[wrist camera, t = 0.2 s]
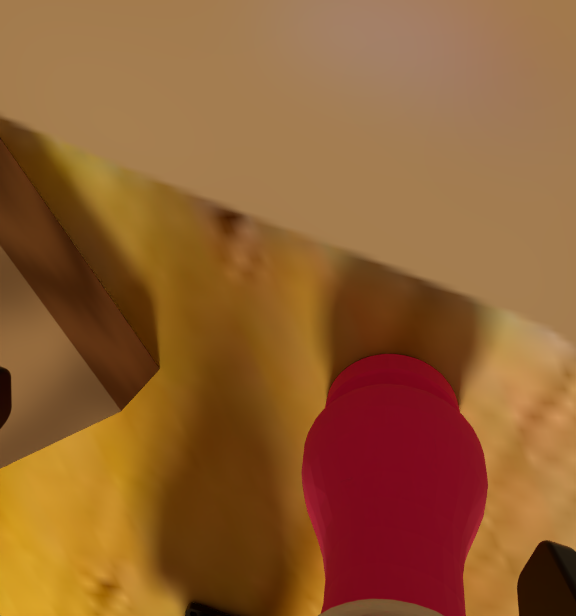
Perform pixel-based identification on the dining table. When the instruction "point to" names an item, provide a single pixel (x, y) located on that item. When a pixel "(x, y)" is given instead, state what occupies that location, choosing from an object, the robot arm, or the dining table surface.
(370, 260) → the dining table surface
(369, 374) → the pepper mill
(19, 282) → the brown flat block
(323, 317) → the dining table surface
